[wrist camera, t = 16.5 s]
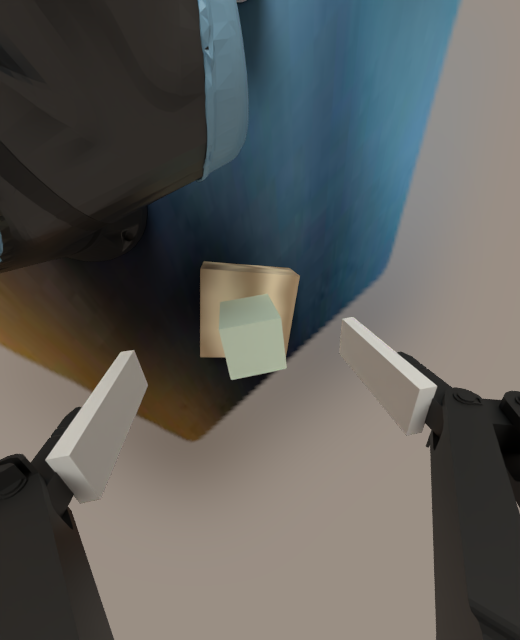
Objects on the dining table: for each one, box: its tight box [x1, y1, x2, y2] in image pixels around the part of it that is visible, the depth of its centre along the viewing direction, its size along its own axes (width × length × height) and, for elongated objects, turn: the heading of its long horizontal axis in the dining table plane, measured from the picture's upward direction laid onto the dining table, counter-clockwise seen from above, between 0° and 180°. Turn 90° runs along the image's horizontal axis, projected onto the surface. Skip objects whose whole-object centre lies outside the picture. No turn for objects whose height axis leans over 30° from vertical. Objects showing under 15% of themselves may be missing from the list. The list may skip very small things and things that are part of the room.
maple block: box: [200, 261, 300, 357], centre depth 38 cm, size 14×14×6 cm
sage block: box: [219, 294, 287, 380], centre depth 31 cm, size 7×7×9 cm
